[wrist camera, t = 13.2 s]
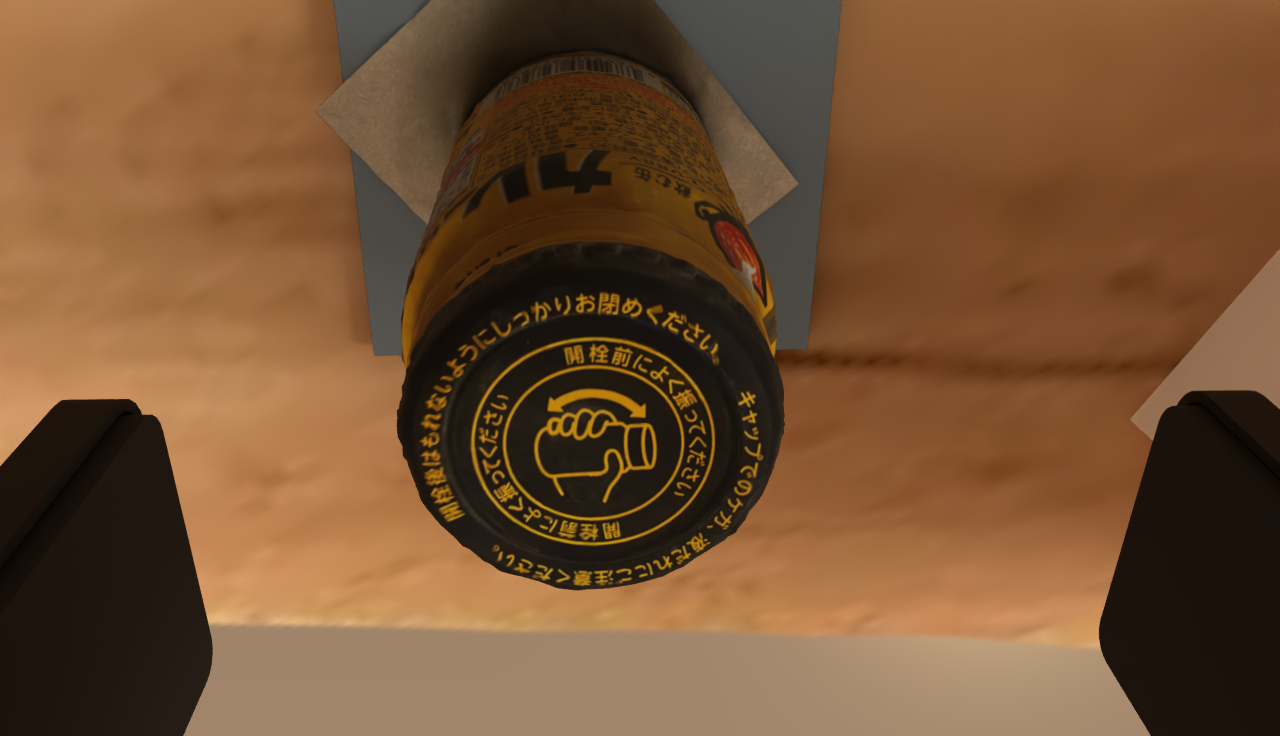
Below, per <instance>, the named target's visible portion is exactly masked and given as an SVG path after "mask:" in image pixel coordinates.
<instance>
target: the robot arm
mask: <svg viewBox="0 0 1280 736" xmlns="http://www.w3.org/2000/svg"><path fill="white" fill-rule="evenodd" d="M1099 640H1100V646H1101V650H1102V653H1103V656H1104V658H1105V660H1106V662H1107V664H1108V666H1109V667H1110V669H1111V671H1112V672H1113V674H1114V676H1115V677H1116V679H1117V681H1118V682H1119V684H1120V686H1121V687H1122V689H1123V690H1124V692H1125V694H1126V695H1127V697H1128V699H1129V700H1130V702H1131V703H1132V705H1133V707H1134V709H1135V710H1136V712H1137V714H1138V715H1139V717H1140V719H1141V720H1142V722H1143V723H1144V725H1145V727H1146V728H1147V730H1148V732H1149V733H1150V735H1151V736H1280V409H1279V408H1278V407H1277V406H1276V405H1274V404H1273V403H1272V402H1271V401H1270V400H1269V399H1267V398H1266V397H1265V396H1264V395H1262V394H1260V393H1259V392H1257V391H1252V390H1206V391H1191V392H1188V393H1186V394H1185V395H1184V396H1183V397H1182V398H1181V399H1180V401H1179V402H1178V404H1177V406H1171V407H1169V408H1166V410H1165V411H1164V412H1163V413H1162V415H1161V417H1160V420H1159V422H1158V425H1157V429H1156V432H1155V436H1154V439H1153V443H1152V446H1151V449H1150V453H1149V456H1148V460H1147V463H1146V466H1145V470H1144V473H1143V477H1142V480H1141V483H1140V487H1139V490H1138V494H1137V497H1136V501H1135V504H1134V507H1133V511H1132V514H1131V518H1130V521H1129V524H1128V528H1127V531H1126V535H1125V538H1124V542H1123V545H1122V548H1121V552H1120V555H1119V559H1118V562H1117V565H1116V569H1115V572H1114V576H1113V579H1112V583H1111V586H1110V589H1109V593H1108V596H1107V600H1106V603H1105V606H1104V610H1103V613H1102V617H1101V620H1100V626H1099ZM212 650H213V648H212V638H211V633H210V629H209V625H208V620H207V616H206V612H205V608H204V603H203V599H202V595H201V591H200V586H199V582H198V578H197V574H196V569H195V565H194V561H193V557H192V552H191V548H190V544H189V540H188V535H187V531H186V527H185V523H184V518H183V514H182V510H181V505H180V501H179V497H178V493H177V488H176V484H175V480H174V476H173V471H172V467H171V463H170V459H169V454H168V450H167V446H166V442H165V437H164V433H163V430H162V427H161V424H160V422H159V420H158V419H157V417H155V416H153V415H142V413H141V411H140V409H139V408H138V406H137V405H136V403H135V402H133V401H131V400H130V399H91V400H62V401H60V402H59V403H58V404H56V405H55V406H54V407H53V408H52V409H51V410H50V411H49V412H48V414H47V415H46V416H45V417H44V418H43V419H42V420H41V421H40V422H39V424H38V425H37V426H36V427H35V428H34V429H33V430H32V431H31V433H30V434H29V435H28V436H27V437H26V438H25V439H24V440H23V441H22V443H21V444H20V445H19V446H18V447H17V448H16V449H15V450H14V452H13V453H12V454H11V455H10V456H9V457H8V458H7V459H6V460H5V462H4V463H3V464H2V465H1V466H0V736H183V735H184V733H185V730H186V728H187V726H188V723H189V721H190V719H191V716H192V714H193V712H194V710H195V707H196V705H197V703H198V700H199V698H200V696H201V694H202V692H203V689H204V687H205V685H206V682H207V680H208V677H209V674H210V669H211V665H212V654H213V652H212Z"/></svg>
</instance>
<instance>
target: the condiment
mask: <svg viewBox="0 0 1280 736" xmlns="http://www.w3.org/2000/svg"><path fill="white" fill-rule="evenodd" d="M450 109H451V114H452V117H449V115H450ZM315 112H316V113H317V114H318V115H319V116H320V117H321V118H322V119H323V120H324V121H325V122H326V123H327V124H328V125H329V126H330V127H331V128H332V129H333V131H334V132H335V133H336V134H337V135H338V136H339V137H340V138H341V139H342V140H343V141H344V142H345V143H346V144H347V145H348V146H349V147H350V148H351V149H352V150H353V151H354V152H355V153H357V154H358V155H359V156H360V157H361V158H362V159H363V160H364V161H365V162H366V163H367V164H368V165H369V167H370V168H371V169H372V170H373V171H374V172H375V174H376V175H377V176H378V177H379V178H380V179H381V180H382V181H383V182H385V183H386V184H387V185H388V186H389V187H391V188H392V189H393V190H394V191H395V192H396V193H397V194H398V195H399V196H400V198H401V199H402V200H403V201H404V202H405V203H406V204H407V205H408V206H409V207H410V208H411V210H412V211H413V212H414V213H415V214H416V215H418V216H419V217H420V218H421V219H422V220H423V221H424V222H425V223H426V224H427V227H426V229H425V231H424V233H423V235H422V236H421V243H420V246H419V248H418V250H417V254H416V257H415V261H414V265H413V267H412V268H411V271H410V274H409V276H408V281H407V287H406V294H405V297H404V306H403V310H402V316H401V337H402V359H403V362H404V364H405V367H406V376H405V380H404V383H403V385H402V398H401V401H400V405H399V409H398V410H397V433H398V438H399V440H400V442H401V444H402V446H403V457H404V458H405V459H406V460H407V462H408V466H409V469H410V471H411V474H412V477H413V479H414V482H415V484H416V487H417V489H418V492H419V496H420V499H421V501H422V502H423V504H424V505H425V507H426V508H427V509H428V510H429V512H430V513H431V514H432V515H433V516H434V518H435V519H436V520H437V521H438V522H439V523H440V525H441V526H442V527H444V528H445V529H446V530H447V531H448V532H449V533H450V534H451V535H453V536H454V537H455V538H456V539H457V540H458V542H459V543H460V544H461V545H462V546H464V547H466V548H468V549H470V550H471V551H472V552H474V553H475V554H476V555H477V556H478V557H480V558H481V559H482V560H483V561H485V562H487V563H489V564H491V565H493V566H494V567H495V568H497V569H498V570H499V571H502V572H505V573H509V574H512V575H517V576H522V577H526V578H529V579H533V580H536V581H540V582H542V583H545V584H548V585H551V586H553V587H555V588H560V589H568V590H585V589H604V588H613V587H620V586H626V585H632V584H637V583H640V582H644V581H648V580H652V579H655V578H658V577H662V576H664V575H666V574H668V573H670V572H672V571H674V570H676V569H679V568H681V567H683V566H685V565H686V564H688V563H689V562H690V561H692V560H693V559H695V558H696V557H698V556H699V555H701V554H703V553H704V552H706V551H708V550H709V549H711V548H712V547H714V546H715V545H717V544H719V543H720V542H722V541H724V540H725V539H726V538H727V537H728V536H730V535H732V534H734V533H735V532H736V531H737V529H738V528H739V526H740V525H741V524H742V523H743V522H744V521H745V519H746V517H747V515H748V513H749V511H750V510H751V509H752V508H753V506H754V505H755V504H756V503H757V501H758V500H759V499H760V497H761V496H762V494H763V492H764V490H765V487H766V485H767V483H768V481H769V478H770V476H771V473H772V470H773V468H774V464H775V461H776V458H777V455H778V452H779V448H780V443H781V438H782V436H783V433H784V426H785V423H784V406H783V400H784V389H783V384H782V379H781V376H780V372H779V368H778V365H777V363H776V360H775V359H774V358H775V354H776V340H777V332H776V326H777V318H776V311H775V302H774V297H773V284H772V280H771V278H770V276H769V274H768V272H767V270H766V267H765V264H764V261H763V259H762V257H761V256H760V254H759V252H758V248H757V246H756V244H755V242H754V240H753V238H752V235H751V233H750V231H749V229H748V227H747V224H749V223H750V222H752V221H753V220H754V219H755V218H756V217H757V216H759V215H760V214H761V213H763V212H764V211H765V210H767V209H768V208H769V207H771V206H772V205H773V204H774V203H776V202H777V201H778V200H780V199H781V198H782V197H783V196H785V195H786V194H787V193H788V192H790V191H791V190H792V189H793V188H794V187H796V186H797V185H798V184H799V183H798V182H797V181H796V180H795V178H794V177H793V176H792V174H791V173H790V172H789V171H788V169H787V168H786V167H785V166H784V164H783V163H782V162H781V160H780V159H779V158H778V157H777V155H776V154H775V153H774V152H773V150H772V149H771V148H770V146H769V145H768V144H767V143H766V141H765V140H764V139H763V137H762V136H761V135H760V134H759V132H758V131H757V130H756V129H755V127H754V126H753V125H752V123H751V122H750V121H749V120H748V118H747V117H746V116H745V115H744V114H743V112H742V111H741V110H740V108H739V107H738V106H737V104H736V103H735V102H734V101H733V99H732V98H731V97H730V95H729V94H728V93H727V92H726V90H725V89H724V88H723V86H722V85H721V84H720V82H719V81H718V80H717V79H716V78H715V76H714V75H713V74H712V73H711V71H710V70H709V69H708V67H707V66H706V65H705V64H704V62H703V61H702V60H701V59H700V57H699V56H698V55H697V54H696V52H695V51H694V50H693V48H692V47H691V46H690V45H689V43H688V42H687V40H686V39H685V38H684V37H683V36H682V34H681V33H680V32H679V31H678V29H677V28H676V27H675V26H674V24H673V23H672V22H671V21H670V19H669V18H668V17H667V16H666V14H665V13H664V12H663V11H662V10H661V8H660V7H659V6H658V4H657V3H656V2H655V0H431V1H430V2H429V3H428V4H427V5H426V6H425V7H424V8H423V9H422V10H421V11H420V12H419V13H417V14H416V16H415V17H414V18H413V19H411V20H410V21H408V23H407V24H406V25H405V26H404V27H403V28H402V29H401V30H399V31H398V32H397V33H396V34H395V35H394V36H393V37H392V38H391V39H390V40H389V41H388V42H387V43H386V44H385V45H384V46H383V47H381V48H380V49H379V50H378V51H377V52H376V53H375V54H374V55H373V56H372V57H371V58H370V59H369V60H368V61H367V62H366V63H364V64H363V65H362V66H361V67H360V68H359V69H358V70H357V71H356V72H355V73H354V74H353V75H352V76H351V77H350V78H349V79H348V80H346V81H345V82H344V83H343V84H342V85H341V86H340V87H339V88H338V89H337V90H336V91H335V92H334V93H333V94H332V95H331V96H330V97H328V98H327V99H326V100H325V101H324V102H323V103H322V104H321V105H320V106H319V107H318V108H317V109H316V110H315ZM453 131H456V132H455V137H453V135H452V134H451V133H452V132H453Z"/></svg>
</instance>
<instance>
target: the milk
mask: <svg viewBox="0 0 1280 736" xmlns="http://www.w3.org/2000/svg"><path fill="white" fill-rule="evenodd" d="M1206 390H1252V391H1257V392H1259V393H1260V394H1262V395H1264V396H1265V397H1266V398H1267V399H1269V400H1270V401H1271V402H1272V403H1273V404H1274V405H1276V406H1277V407H1278V408H1279V409H1280V249H1279V250H1278V251H1277V252H1276V253H1275V254H1274V256H1273V257H1272V258H1271V259H1270V260H1269V261H1268V262H1267V264H1266V265H1265V266H1264V267H1263V268H1262V269H1261V270H1260V272H1259V273H1258V274H1257V275H1256V276H1255V277H1254V278H1253V279H1252V281H1251V282H1250V283H1249V284H1248V285H1247V286H1246V287H1245V289H1244V290H1243V291H1242V292H1241V293H1240V294H1239V295H1238V297H1237V298H1236V299H1235V300H1234V301H1233V302H1232V303H1231V305H1230V306H1229V307H1228V308H1227V309H1226V310H1225V311H1224V312H1223V314H1222V315H1221V316H1220V317H1219V318H1218V319H1217V320H1216V322H1215V323H1214V324H1213V325H1212V326H1211V327H1210V328H1209V330H1208V331H1207V332H1206V333H1205V334H1204V335H1203V336H1202V338H1201V339H1200V340H1199V341H1198V342H1197V343H1196V344H1195V346H1194V347H1193V348H1192V349H1191V350H1190V351H1189V352H1188V353H1187V355H1186V356H1185V357H1184V358H1183V359H1182V360H1181V361H1180V363H1179V364H1178V365H1177V366H1176V367H1175V368H1174V369H1173V371H1172V372H1171V373H1170V374H1169V375H1168V376H1167V377H1166V379H1165V380H1164V381H1163V382H1162V383H1161V384H1160V385H1159V386H1158V388H1157V389H1156V390H1155V391H1154V392H1153V393H1152V394H1151V396H1150V397H1149V398H1148V399H1147V400H1146V401H1145V402H1144V404H1143V405H1142V406H1141V407H1140V408H1139V409H1138V410H1137V412H1136V413H1135V414H1134V415H1133V416H1132V417H1131V418H1130V419H1129V420H1131V421H1132V422H1133V423H1134V424H1135V425H1136V426H1137V427H1138V428H1139V429H1140V430H1141V431H1143V432H1144V433H1145V434H1146V435H1147V436H1148V437H1149V438H1150V439H1151V440H1152V441H1153V439H1154V436H1155V432H1156V429H1157V425H1158V422H1159V420H1160V417H1161V415H1162V413H1163V412H1164V411H1165V410H1166V408H1169V407H1171V406H1177V404H1178V402H1179V401H1180V399H1181V398H1182V397H1183V396H1184V395H1185V394H1186V393H1188V392H1191V391H1206Z"/></svg>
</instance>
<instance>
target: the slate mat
mask: <svg viewBox="0 0 1280 736" xmlns="http://www.w3.org/2000/svg"><path fill="white" fill-rule="evenodd" d="M430 1H431V0H334V8H335V17H336V25H337V34H338V43H339V52H340V61H341V69H342V78H343V83H344V82H345V81H346V80H348V79H349V78H350V77H351V76H352V75H353V74H354V73H355V72H356V71H357V70H358V69H359V68H360V67H361V66H362V65H363V64H364V63H366V62H367V61H368V60H369V59H370V58H371V57H372V56H373V55H374V54H375V53H376V52H377V51H378V50H379V49H380V48H381V47H383V46H384V45H385V44H386V43H387V42H388V41H389V40H390V39H391V38H392V37H393V36H394V35H395V34H396V33H397V32H398V31H399V30H401V29H402V28H403V27H404V26H405V25H406V24H407V23H408V21H410V20H411V19H413V18H414V17H415V16H416V14H417V13H419V12H420V11H421V10H422V9H423V8H424V7H425V6H426V5H427V4H428V3H429V2H430ZM841 1H842V0H655V2H656V3H657V4H658V6H659V7H660V8H661V10H662V11H663V12H664V13H665V14H666V16H667V17H668V18H669V19H670V21H671V22H672V23H673V24H674V26H675V27H676V28H677V29H678V31H679V32H680V33H681V34H682V36H683V37H684V38H685V39H686V40H687V42H688V43H689V45H690V46H691V47H692V48H693V50H694V51H695V52H696V54H697V55H698V56H699V57H700V59H701V60H702V61H703V62H704V64H705V65H706V66H707V67H708V69H709V70H710V71H711V73H712V74H713V75H714V76H715V78H716V79H717V80H718V81H719V82H720V84H721V85H722V86H723V88H724V89H725V90H726V92H727V93H728V94H729V95H730V97H731V98H732V99H733V101H734V102H735V103H736V104H737V106H738V107H739V108H740V110H741V111H742V112H743V114H744V115H745V116H746V117H747V118H748V120H749V121H750V122H751V123H752V125H753V126H754V127H755V129H756V130H757V131H758V132H759V134H760V135H761V136H762V137H763V139H764V140H765V141H766V143H767V144H768V145H769V146H770V148H771V149H772V150H773V152H774V153H775V154H776V155H777V157H778V158H779V159H780V160H781V162H782V163H783V164H784V166H785V167H786V168H787V169H788V171H789V172H790V173H791V174H792V176H793V177H794V178H795V180H796V181H797V182H798V183H799V184H798V185H797V186H796V187H794V188H793V189H792V190H791V191H790V192H788V193H787V194H786V195H785V196H783V197H782V198H781V199H780V200H778V201H777V202H776V203H774V204H773V205H772V206H771V207H769V208H768V209H767V210H765V211H764V212H763V213H761V214H760V215H759V216H757V217H756V218H755V219H754V220H753V221H752V222H750V223H749V224H747V227H748V229H749V231H750V233H751V235H752V238H753V240H754V242H755V244H756V246H757V248H758V252H759V254H760V256H761V257H762V259H763V261H764V264H765V267H766V270H767V272H768V274H769V276H770V278H771V280H772V284H773V297H774V302H775V311H776V318H777V326H776V332H777V340H776V350H799V349H807V347H808V336H809V326H810V316H811V306H812V296H813V285H814V275H815V265H816V255H817V245H818V235H819V224H820V214H821V204H822V194H823V184H824V174H825V163H826V153H827V143H828V133H829V123H830V113H831V102H832V92H833V82H834V72H835V62H836V52H837V41H838V31H839V21H840V11H841ZM449 117H452V114H451V109H450V115H449ZM455 132H456V131H453V132H452V133H451V134H452V135H453V137H455ZM350 149H351V148H350ZM351 157H352V166H353V175H354V184H355V193H356V201H357V210H358V219H359V228H360V236H361V245H362V254H363V263H364V272H365V280H366V289H367V298H368V307H369V316H370V324H371V333H372V342H373V351H374V356H379V355H402V337H401V316H402V310H403V306H404V297H405V294H406V287H407V281H408V276H409V274H410V271H411V268H412V267H413V265H414V261H415V257H416V254H417V250H418V248H419V246H420V243H421V236H422V235H423V233H424V231H425V229H426V227H427V224H426V223H425V222H424V221H423V220H422V219H421V218H420V217H419V216H418V215H416V214H415V213H414V212H413V211H412V210H411V208H410V207H409V206H408V205H407V204H406V203H405V202H404V201H403V200H402V199H401V198H400V196H399V195H398V194H397V193H396V192H395V191H394V190H393V189H392V188H391V187H389V186H388V185H387V184H386V183H385V182H383V181H382V180H381V179H380V178H379V177H378V176H377V175H376V174H375V172H374V171H373V170H372V169H371V168H370V167H369V165H368V164H367V163H366V162H365V161H364V160H363V159H362V158H361V157H360V156H359V155H358V154H357V153H355V152H354V151H353V150H352V149H351Z"/></svg>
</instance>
